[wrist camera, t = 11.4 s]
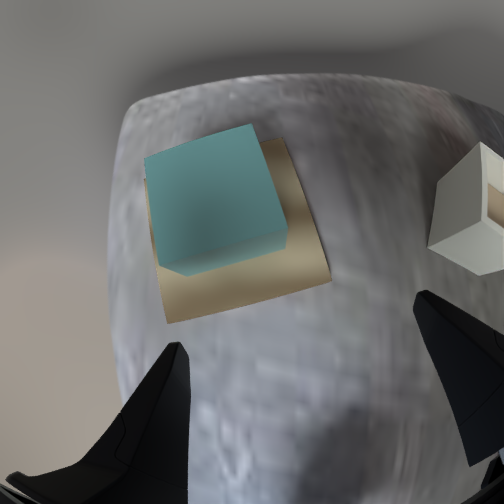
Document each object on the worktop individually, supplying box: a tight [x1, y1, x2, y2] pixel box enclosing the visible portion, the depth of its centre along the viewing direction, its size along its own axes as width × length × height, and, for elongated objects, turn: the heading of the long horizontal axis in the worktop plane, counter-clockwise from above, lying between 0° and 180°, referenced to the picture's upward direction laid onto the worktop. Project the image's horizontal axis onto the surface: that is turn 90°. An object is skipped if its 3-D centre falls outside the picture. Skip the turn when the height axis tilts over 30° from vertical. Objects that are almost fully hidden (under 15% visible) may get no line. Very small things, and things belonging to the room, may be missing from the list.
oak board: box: [144, 138, 332, 324], centre depth 22 cm, size 13×13×1 cm
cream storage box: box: [427, 142, 504, 276], centre depth 16 cm, size 7×7×8 cm
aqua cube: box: [144, 123, 288, 277], centre depth 18 cm, size 7×7×6 cm
